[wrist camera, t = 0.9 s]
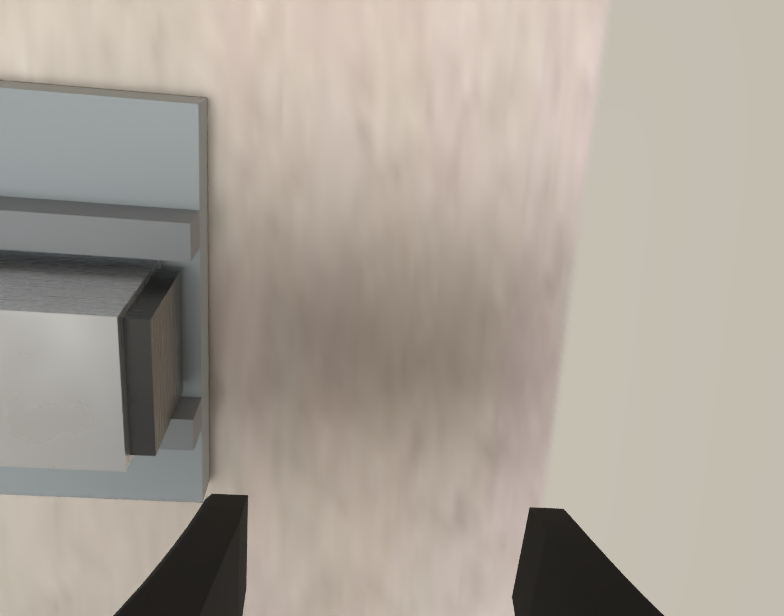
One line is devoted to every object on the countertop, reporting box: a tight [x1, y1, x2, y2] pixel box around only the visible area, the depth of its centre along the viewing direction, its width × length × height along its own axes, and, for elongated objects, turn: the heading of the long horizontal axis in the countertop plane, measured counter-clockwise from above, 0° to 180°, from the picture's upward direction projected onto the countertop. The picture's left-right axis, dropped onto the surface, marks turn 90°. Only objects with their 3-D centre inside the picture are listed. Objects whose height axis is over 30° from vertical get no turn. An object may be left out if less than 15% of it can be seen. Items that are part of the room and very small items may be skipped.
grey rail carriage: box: [0, 249, 183, 472], centre depth 19 cm, size 4×6×4 cm
